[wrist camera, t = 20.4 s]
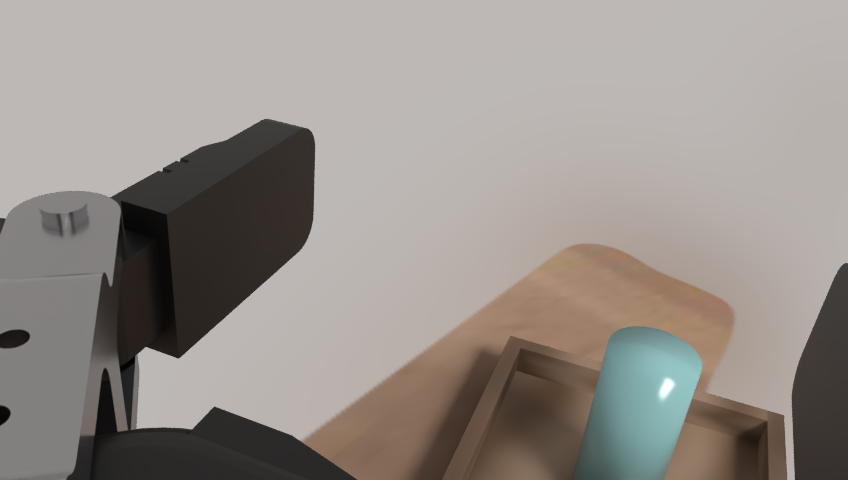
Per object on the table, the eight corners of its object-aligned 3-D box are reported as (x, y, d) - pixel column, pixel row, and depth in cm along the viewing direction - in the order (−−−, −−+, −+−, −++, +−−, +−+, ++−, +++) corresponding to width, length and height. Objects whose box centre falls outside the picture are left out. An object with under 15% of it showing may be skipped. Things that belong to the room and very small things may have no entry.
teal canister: (659, 477, 46) (705, 343, 41) (649, 536, 42) (698, 396, 37) (580, 450, 47) (616, 317, 43) (563, 505, 44) (600, 365, 39)
